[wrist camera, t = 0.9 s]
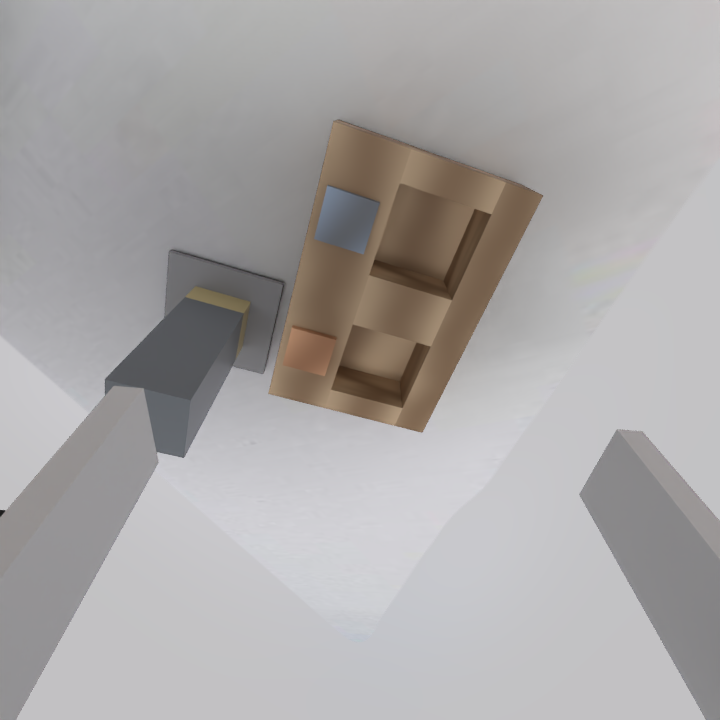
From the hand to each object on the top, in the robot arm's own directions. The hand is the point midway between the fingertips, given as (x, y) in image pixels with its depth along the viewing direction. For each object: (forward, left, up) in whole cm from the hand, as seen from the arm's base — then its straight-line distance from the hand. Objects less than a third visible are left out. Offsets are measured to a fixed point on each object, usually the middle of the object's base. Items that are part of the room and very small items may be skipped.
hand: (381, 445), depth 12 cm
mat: (-9, -8, -20) cm, 23 cm away
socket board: (+2, -2, -20) cm, 20 cm away
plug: (-9, -8, -19) cm, 23 cm away
